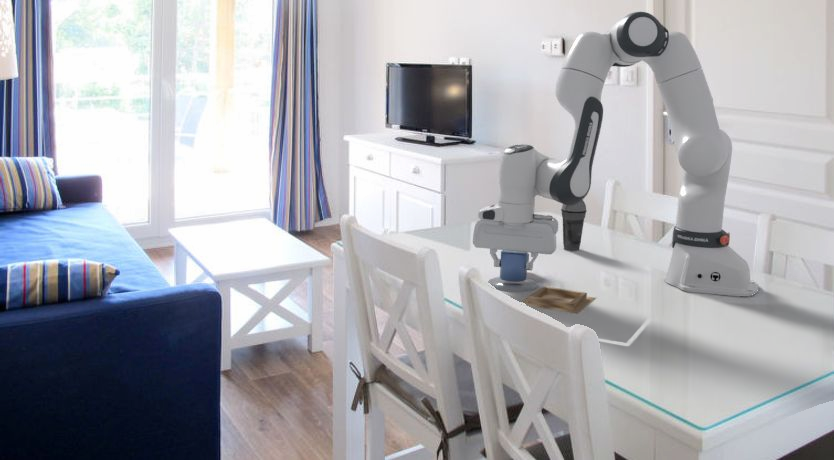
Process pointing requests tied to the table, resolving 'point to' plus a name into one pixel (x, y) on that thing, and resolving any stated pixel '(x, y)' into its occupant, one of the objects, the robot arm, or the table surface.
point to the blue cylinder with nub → (513, 265)
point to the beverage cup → (573, 225)
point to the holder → (559, 299)
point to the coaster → (513, 285)
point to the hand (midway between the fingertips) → (513, 268)
